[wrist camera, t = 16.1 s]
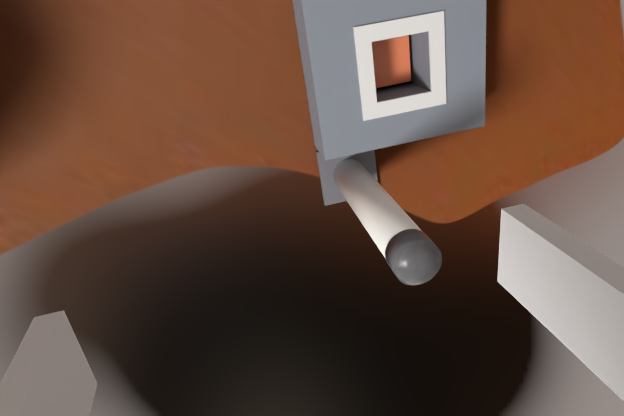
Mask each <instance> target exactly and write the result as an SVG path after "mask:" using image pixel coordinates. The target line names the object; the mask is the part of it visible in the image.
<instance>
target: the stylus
mask: <svg viewBox="0 0 624 416" xmlns="http://www.w3.org/2000/svg"><path fill="white" fill-rule="evenodd" d="M333 179H334V182H335V184H336V185H337V187H338V188H339V190H340V191H341V193H342V194H343V196H344V197H345V199H346V200H347V202H348V203H349V205H350V206H351V208H352V209H353V211H354V212H355V214H356V215H357V216H358V218H359V220H360V221H361V223H362V224H363V226H364V227H365V229H366V230H367V232H368V233H369V234H370V236H371V238H372V239H373V240H374V242H375V243H376V245H377V246H378V248H379V249H380V251H381V252H382V254H383V255H384V257H385V258H386V261H387V263H388V264H389V266H390V267H391V269H392V270H393V272H394V273H395V275H396V276H397V277H398V279H399V280H400V281H401V282H403V283H405V284H408V285H419V284H422V283H425V282H427V281H429V280H430V279H431V278H433V277H434V276H435V274H436V273H437V272H438V271H439V269H440V267H441V263H442V255H441V252H440V250H439V249H438V247H437V246H436V245H435V244H434V243H433V242H432V241H431V240H430V238H429V237H428V236H427V235H426V234H425V233H424V232H422V231H421V229H420V228H419V227H418V226H417V225H416V224H415V223H414V222H413V221H412V219H411V218H410V217H409V216H408V215H407V214H406V213H405V212H404V211H403V209H402V208H401V207H400V206H399V205H398V204H397V203H396V202H395V201H394V199H393V198H392V197H391V196H390V195H389V194H388V193H387V192H386V191H385V189H384V188H383V187H382V186H381V185H380V184H379V183H378V182H377V181H376V179H375V178H374V177H373V176H372V175H371V174H370V173H369V172H368V171H367V169H366V168H365V167H364V166H363V165H362V164H361V163H360V162H359V161H357V160H355V159H346V160H344V161H342V162H340V163H339V164H338V165H337V166H336V168H335V170H334V173H333Z"/></svg>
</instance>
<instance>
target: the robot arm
mask: <svg viewBox="0 0 624 416" xmlns="http://www.w3.org/2000/svg"><path fill="white" fill-rule="evenodd" d="M500 228H501V229H500V245H499V262H498V280H497V281H498V282H499V283H500V284H501V285H502V286H503V287H504V288H505V289H506V290H507V291H508V292H509V293H510V294H511V295H513V296H514V297H515V298H516V299H517V300H518V301H519V302H520V303H521V304H522V305H523V306H524V307H525V308H526V309H527V310H528V311H530V312H531V314H532V315H534V316H535V317H536V318H537V319H538V320H539V321H540V322H541V323H542V324H543V325H544V326H545V327H546V328H547V329H548V330H549V331H551V333H553V334H554V335H555V336H556V337H557V338H558V339H559V340H560V341H561V342H562V343H563V344H564V345H565V346H566V347H567V348H568V349H569V350H570V351H571V352H572V353H574V354H575V355H576V356H577V357H578V358H579V359H580V360H581V361H582V362H583V363H584V364H585V365H586V366H587V367H588V368H589V369H590V370H591V371H593V372H594V373H595V374H596V375H597V376H598V377H599V378H600V379H601V380H602V381H603V382H604V383H605V384H606V385H607V386H608V387H609V388H610V389H612V390H613V391H614V392H615V393H616V394H617V395H618V396H619V397H620V398H621V399H622V400H623V401H624V267H622V266H621V265H619V264H617V263H616V262H614V261H613V260H611V259H610V258H608V257H606V256H605V255H603V254H602V253H600V252H599V251H597V250H595V249H594V248H592V247H591V246H589V245H588V244H586V243H584V242H583V241H581V240H580V239H578V238H576V237H575V236H573V235H572V234H570V233H569V232H567V231H565V230H564V229H562V228H561V227H559V226H558V225H556V224H555V223H553V222H551V221H550V220H548V219H546V218H545V217H544V216H542V215H540V214H539V213H537V212H536V211H534V210H532V209H531V208H529V207H528V206H526V205H524V204H520V205H517V206H512V207H507V208H503V209H501V227H500ZM96 387H97V382H96V380H95V378H94V375H93V373H92V371H91V369H90V367H89V365H88V362H87V360H86V358H85V356H84V354H83V351H82V349H81V347H80V345H79V343H78V341H77V338H76V336H75V334H74V332H73V330H72V327H71V325H70V323H69V321H68V319H67V317H66V314H65V312H64V311H59V312H55V313H51V314H47V315H42V316H38V317H34V319H33V321H32V323H31V325H30V326H29V329H28V330H27V332H26V334H25V336H24V338H23V340H22V342H21V344H20V346H19V348H18V350H17V352H16V354H15V356H14V358H13V360H12V362H11V364H10V366H9V368H8V370H7V371H6V374H5V376H4V377H3V379H2V381H1V383H0V416H89V414H90V410H91V406H92V402H93V398H94V394H95V390H96Z"/></svg>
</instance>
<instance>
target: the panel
mask: <svg viewBox="0 0 624 416" xmlns="http://www.w3.org/2000/svg"><path fill="white" fill-rule="evenodd" d="M292 2H293V8H294V14H295V21H296V27H297V33H298V40H299V46H300V53H301V59H302V65H303V72H304V78H305V84H306V91H307V97H308V104H309V110H310V116H311V123H312V129H313V135H314V142H315V147H316V148H317V150H318V151H319V153H320V154H321V155H322V157H323V158H324V160H330V159H334V158H339V157H344V156H348V155H353V154H357V153H362V152H367V151H371V150H376V149H380V148H385V147H390V146H394V145H399V144H403V143H408V142H413V141H417V140H422V139H427V138H431V137H436V136H440V135H445V134H450V133H454V132H459V131H463V130H468V129H473V128H477V127H482V126H485V81H486V0H292ZM406 35H409V49H410V67H411V83H410V84H405V85H400V86H395V87H390V88H385V89H380V90H376V86H375V75H374V64H373V53H372V42H374V41H380V40H385V39H390V38H396V37H401V36H406Z"/></svg>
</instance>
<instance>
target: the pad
mask: <svg viewBox="0 0 624 416" xmlns="http://www.w3.org/2000/svg"><path fill="white" fill-rule="evenodd" d="M316 155H317V161H318V167H319V174H320V180H321V186H322V193H323V199H324V204H325V205H330V204H334V203H339V202H343V201H347V200H346V199H345V197H344V196H343V194H342V193H341V191H340V190H339V188H338V187H337V185H336V184H335V182H334V179H333V173H334V170H335V168H336V166H337V165H338V164H339V163H340V162H342V161H344V160H346V159H355V160H357V161H359V162H360V163H361V164H362V165H363V166H364V167H365V168H366V169H367V171H368V172H369V173H370V174H371V175H372V176H373V177H374V178H375V179H376V181H377V182H378V179H377V169H376V159H375V150H371V151H367V152H362V153H357V154H353V155H348V156H344V157H339V158H334V159H330V160H324V158H323V157H322V155H321V154H320V153H319V151H316Z"/></svg>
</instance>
